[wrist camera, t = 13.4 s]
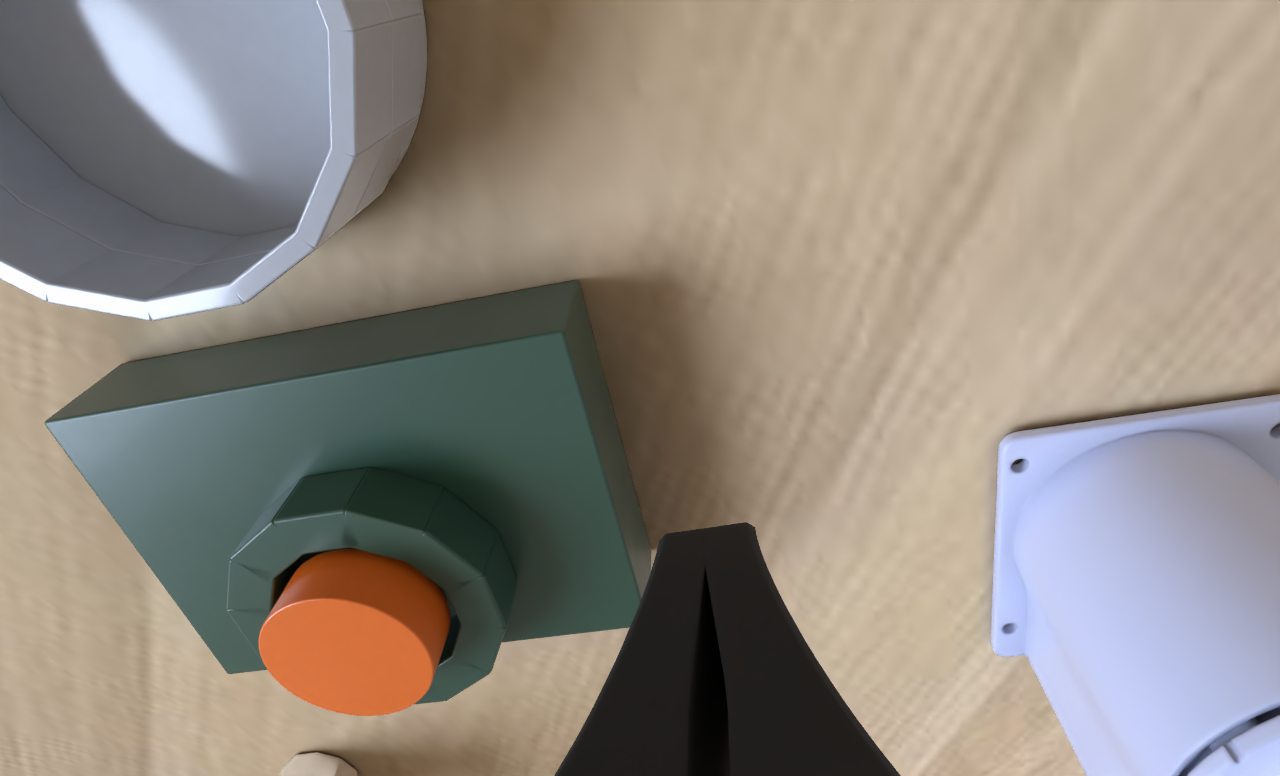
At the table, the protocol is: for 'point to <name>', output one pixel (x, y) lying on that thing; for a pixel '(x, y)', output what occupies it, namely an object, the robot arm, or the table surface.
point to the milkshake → (317, 766)
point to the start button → (356, 633)
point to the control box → (379, 471)
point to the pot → (194, 141)
